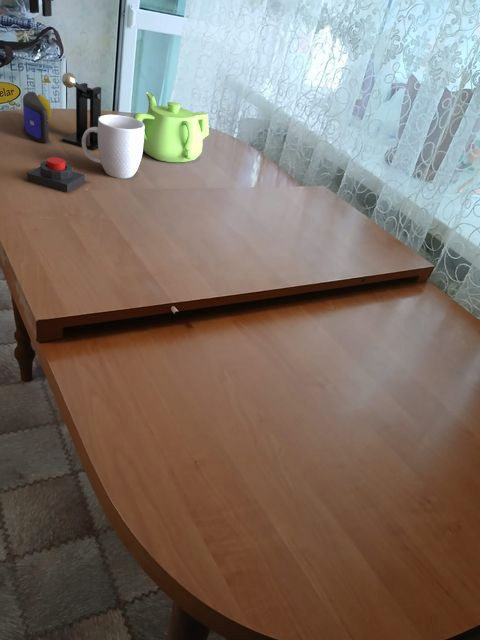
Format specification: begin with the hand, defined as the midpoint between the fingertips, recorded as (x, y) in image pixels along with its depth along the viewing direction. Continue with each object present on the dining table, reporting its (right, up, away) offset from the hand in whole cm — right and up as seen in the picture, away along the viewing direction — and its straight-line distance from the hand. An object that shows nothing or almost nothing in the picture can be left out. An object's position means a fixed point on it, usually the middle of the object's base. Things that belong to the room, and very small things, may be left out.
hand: (40, 14), depth 128 cm
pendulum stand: (+3, -21, +25) cm, 33 cm away
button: (+5, -37, -2) cm, 37 cm away
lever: (+4, -13, +13) cm, 19 cm away
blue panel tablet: (-10, -20, +22) cm, 32 cm away
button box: (+4, -40, 0) cm, 40 cm away
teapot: (+24, -22, +31) cm, 45 cm away
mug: (+15, -34, +11) cm, 39 cm away
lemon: (-12, -14, +30) cm, 35 cm away
